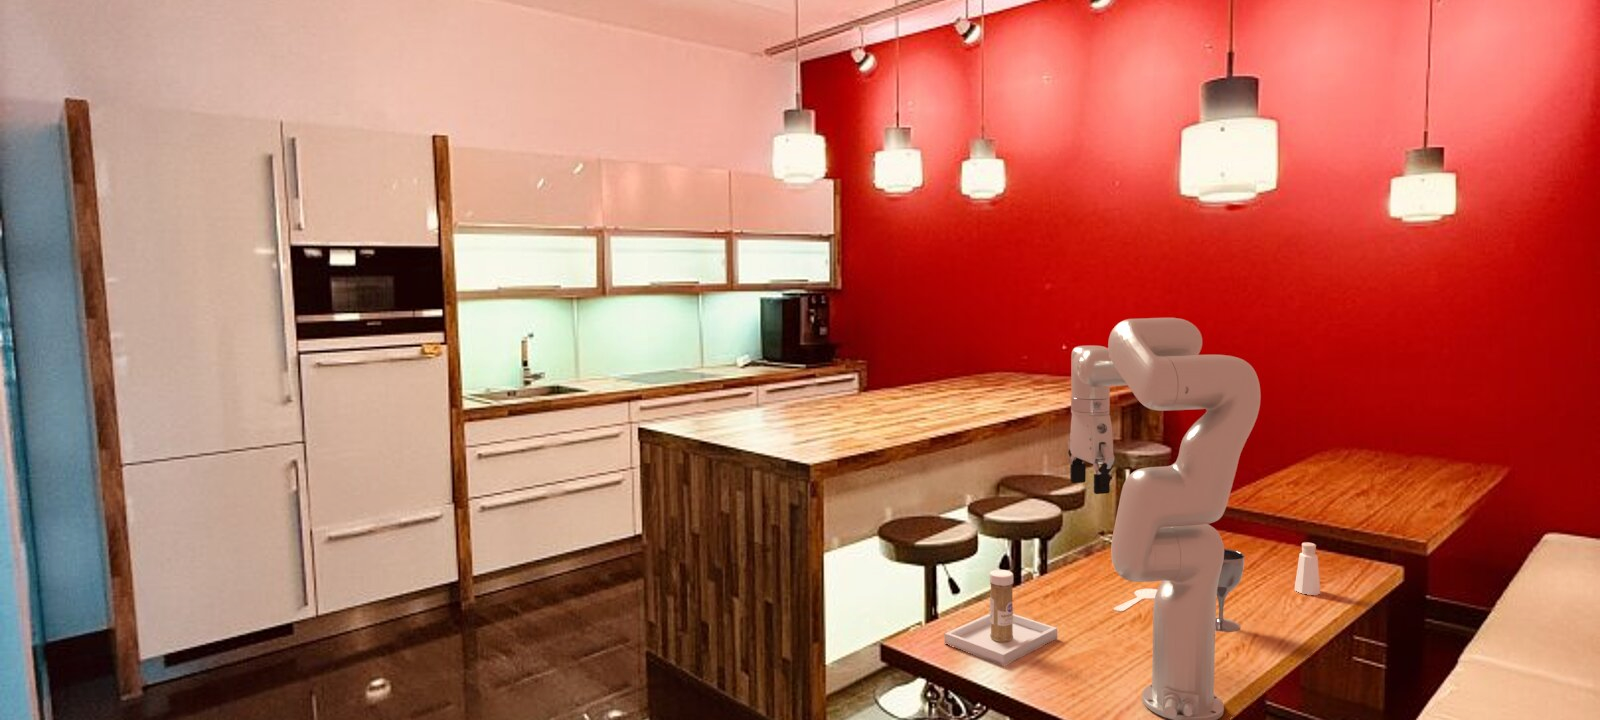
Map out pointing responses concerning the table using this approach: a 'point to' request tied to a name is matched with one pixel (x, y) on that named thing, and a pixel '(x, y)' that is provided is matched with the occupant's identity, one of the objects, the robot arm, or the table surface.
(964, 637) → the tray
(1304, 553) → the salt shaker
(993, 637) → the sprinkles bottle
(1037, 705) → the table surface
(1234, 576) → the wine glass
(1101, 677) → the table surface
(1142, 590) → the spoon
